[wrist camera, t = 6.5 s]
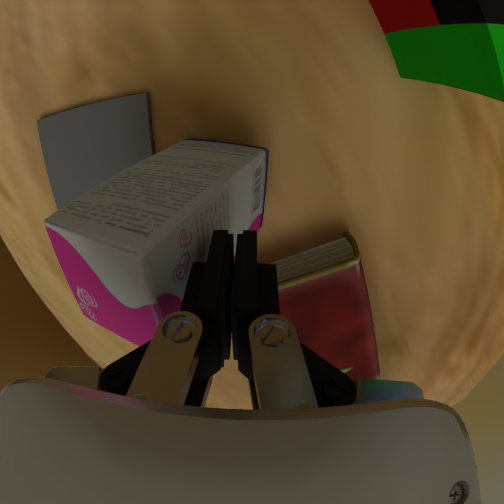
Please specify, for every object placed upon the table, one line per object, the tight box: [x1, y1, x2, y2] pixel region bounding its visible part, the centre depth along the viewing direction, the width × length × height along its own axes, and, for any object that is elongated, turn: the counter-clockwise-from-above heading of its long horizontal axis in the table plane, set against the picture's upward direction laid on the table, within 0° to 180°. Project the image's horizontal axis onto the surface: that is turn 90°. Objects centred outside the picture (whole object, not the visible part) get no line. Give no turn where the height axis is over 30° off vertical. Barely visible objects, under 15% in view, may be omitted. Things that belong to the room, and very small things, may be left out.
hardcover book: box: [267, 231, 380, 380], centre depth 27 cm, size 12×21×4 cm, turn 24°
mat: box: [37, 92, 155, 210], centre depth 19 cm, size 10×13×1 cm
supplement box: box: [44, 138, 269, 346], centre depth 14 cm, size 6×6×12 cm
